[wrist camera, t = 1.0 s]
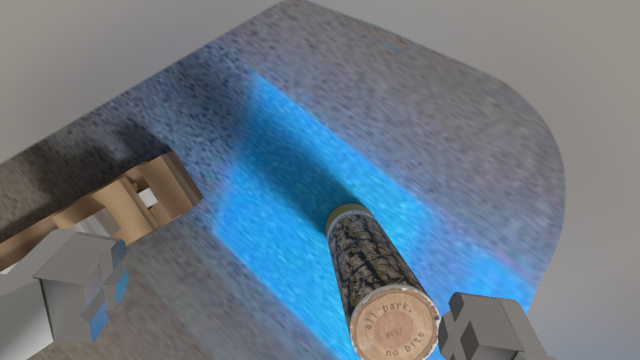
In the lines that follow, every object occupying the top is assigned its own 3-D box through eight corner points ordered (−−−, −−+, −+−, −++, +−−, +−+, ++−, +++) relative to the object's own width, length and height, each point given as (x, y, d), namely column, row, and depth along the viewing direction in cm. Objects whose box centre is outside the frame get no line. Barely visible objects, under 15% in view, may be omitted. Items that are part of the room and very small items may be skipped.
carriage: (130, 174, 49) (92, 191, 40) (162, 221, 50) (133, 248, 41) (67, 209, 49) (15, 234, 40) (101, 256, 51) (58, 290, 42)
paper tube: (318, 211, 53) (338, 304, 29) (366, 195, 53) (428, 274, 29) (333, 257, 55) (365, 383, 30) (381, 241, 55) (451, 354, 30)
